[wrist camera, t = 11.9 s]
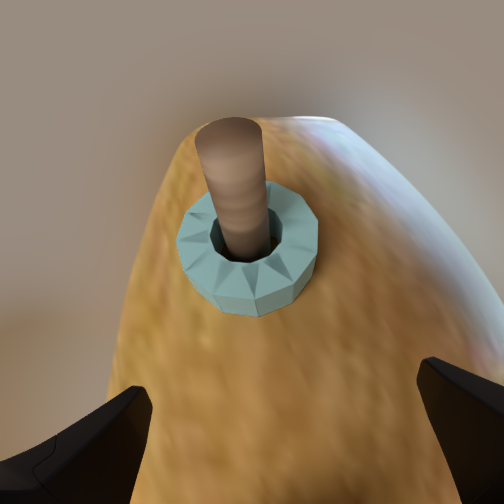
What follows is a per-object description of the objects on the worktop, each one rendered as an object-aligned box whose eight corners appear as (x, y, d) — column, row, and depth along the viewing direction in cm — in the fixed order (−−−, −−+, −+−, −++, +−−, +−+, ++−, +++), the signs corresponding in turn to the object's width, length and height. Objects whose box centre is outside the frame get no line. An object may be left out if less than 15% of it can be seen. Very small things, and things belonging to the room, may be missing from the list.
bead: (308, 321, 21) (314, 305, 18) (178, 305, 23) (161, 287, 19) (314, 212, 27) (318, 184, 23) (207, 205, 28) (198, 178, 25)
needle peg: (277, 265, 24) (272, 142, 13) (238, 280, 24) (202, 164, 12) (262, 234, 26) (248, 111, 15) (226, 247, 25) (189, 129, 14)
